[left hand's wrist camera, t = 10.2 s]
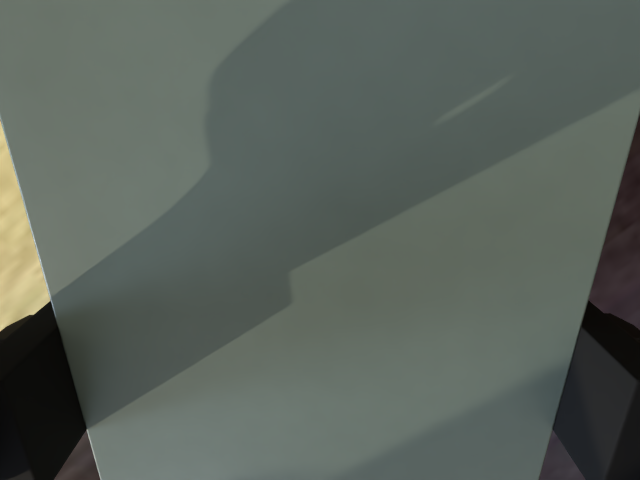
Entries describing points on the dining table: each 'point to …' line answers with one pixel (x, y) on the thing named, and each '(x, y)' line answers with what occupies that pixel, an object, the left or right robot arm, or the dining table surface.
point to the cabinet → (319, 223)
